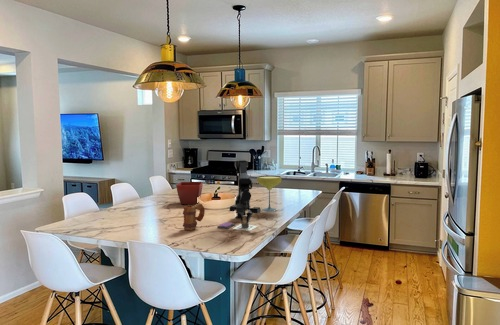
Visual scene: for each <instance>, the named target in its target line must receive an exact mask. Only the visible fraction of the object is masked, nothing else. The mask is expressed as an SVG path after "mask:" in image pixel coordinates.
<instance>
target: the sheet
mask: <svg viewBox="0 0 500 325" xmlns="http://www.w3.org/2000/svg"><path fill="white" fill-rule="evenodd" d="M258 227H259V225H252V224H249V227H248V228H242V223H240V224H238V225H235V226H233V228H232V227H231V228H232V230H239V231H247V232H248V231H249V232H250V231H253V230H254V229H256V228H258ZM252 229H253V230H252Z"/></svg>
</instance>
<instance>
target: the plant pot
mask: <svg viewBox="0 0 500 325" xmlns="http://www.w3.org/2000/svg"><path fill="white" fill-rule="evenodd" d="M203 184H204V183H203V181H181V182H179V183H177V184H176V185H175V186H176V192H177V196H178V199H179V202H180V205H182V204H197V197H199V196H200V197H201V196H202V192H203V191H202V190H203Z"/></svg>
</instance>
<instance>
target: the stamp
mask: <svg viewBox="0 0 500 325" xmlns="http://www.w3.org/2000/svg"><path fill="white" fill-rule="evenodd" d="M241 224H242V228H248V227H249V225H250V223H249V222H248V223H247V214H246V215H243V223H242V222H241Z"/></svg>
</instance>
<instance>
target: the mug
mask: <svg viewBox="0 0 500 325" xmlns="http://www.w3.org/2000/svg"><path fill="white" fill-rule="evenodd" d="M197 210H198V211H199V214H198V215H197V216H196V213H197ZM205 210H206V209H205V207H204V206H203V204H201V203H199V202H198V204H197V205H183V210H182V215H183V223H182V227H183V229H184V230H186V231H193V230H195V229H197V225H198V222H201V221H202V220H203V219H204V217H205V213H206V211H205Z"/></svg>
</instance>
